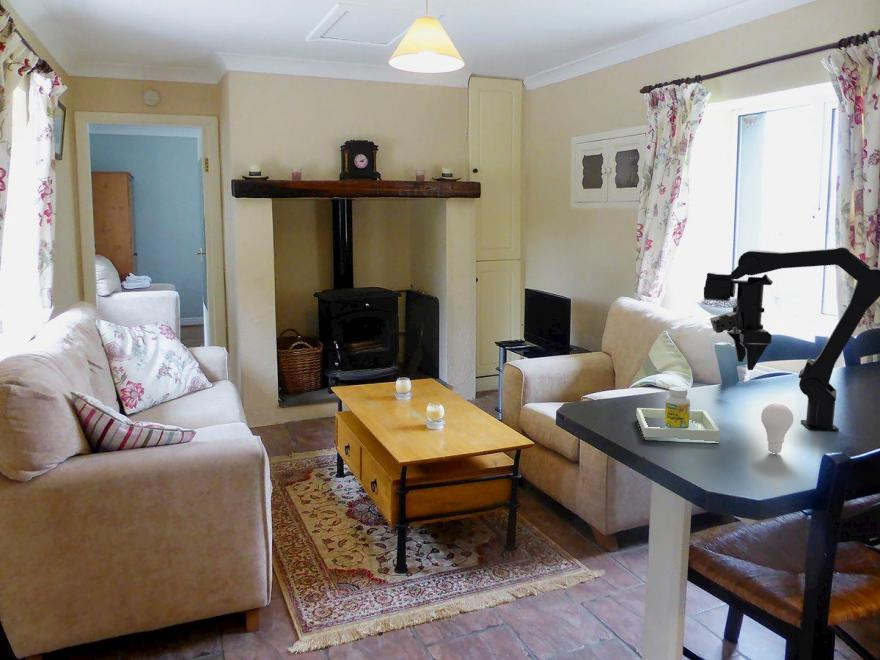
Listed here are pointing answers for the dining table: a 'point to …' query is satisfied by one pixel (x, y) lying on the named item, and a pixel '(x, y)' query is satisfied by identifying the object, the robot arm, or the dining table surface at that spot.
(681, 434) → the bin
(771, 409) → the lightbulb
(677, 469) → the dining table surface
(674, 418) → the supplement bottle
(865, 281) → the robot arm
